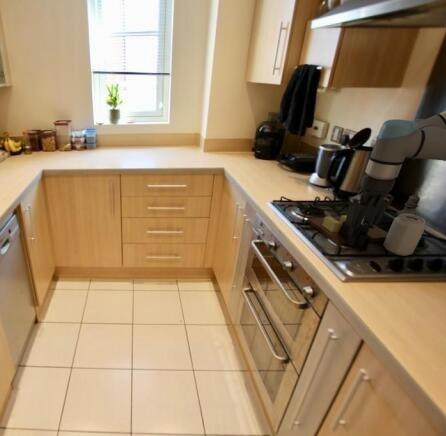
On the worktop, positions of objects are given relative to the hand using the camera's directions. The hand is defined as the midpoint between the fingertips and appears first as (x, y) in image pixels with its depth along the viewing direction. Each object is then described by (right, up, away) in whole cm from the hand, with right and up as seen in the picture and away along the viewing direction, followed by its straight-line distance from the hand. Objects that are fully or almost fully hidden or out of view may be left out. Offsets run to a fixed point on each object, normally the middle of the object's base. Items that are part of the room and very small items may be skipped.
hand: (353, 243), depth 103 cm
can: (+13, -2, -1) cm, 13 cm away
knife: (-1, +3, +5) cm, 6 cm away
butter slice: (-2, +5, +9) cm, 10 cm away
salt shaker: (+29, +6, +14) cm, 33 cm away
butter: (+7, +5, +9) cm, 13 cm away
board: (+5, +4, +10) cm, 12 cm away
